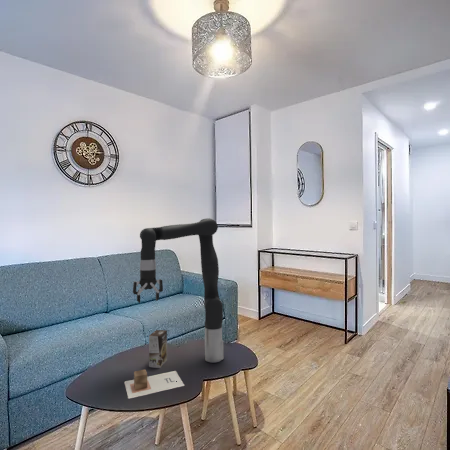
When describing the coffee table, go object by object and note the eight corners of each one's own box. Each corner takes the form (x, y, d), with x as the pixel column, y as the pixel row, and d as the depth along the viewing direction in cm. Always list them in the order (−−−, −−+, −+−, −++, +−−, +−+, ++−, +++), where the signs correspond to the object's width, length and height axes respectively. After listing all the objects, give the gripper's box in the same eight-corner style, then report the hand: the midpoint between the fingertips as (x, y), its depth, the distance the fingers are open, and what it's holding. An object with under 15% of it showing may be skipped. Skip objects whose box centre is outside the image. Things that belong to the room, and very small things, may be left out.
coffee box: (160, 368, 150) (160, 336, 150) (148, 367, 151) (148, 335, 151) (167, 360, 159) (167, 330, 159) (156, 359, 160) (156, 329, 160)
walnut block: (145, 382, 136) (145, 369, 136) (147, 387, 132) (147, 374, 132) (134, 384, 134) (134, 371, 134) (135, 390, 130) (135, 376, 130)
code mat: (175, 371, 147) (175, 370, 147) (184, 386, 134) (184, 385, 134) (124, 382, 137) (124, 381, 137) (128, 399, 124) (128, 398, 124)
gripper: (160, 266, 155) (160, 298, 155) (132, 268, 149) (132, 301, 149) (164, 268, 148) (164, 301, 148) (134, 270, 142) (134, 304, 142)
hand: (148, 301), depth 148 cm, fingers open, 8 cm apart
